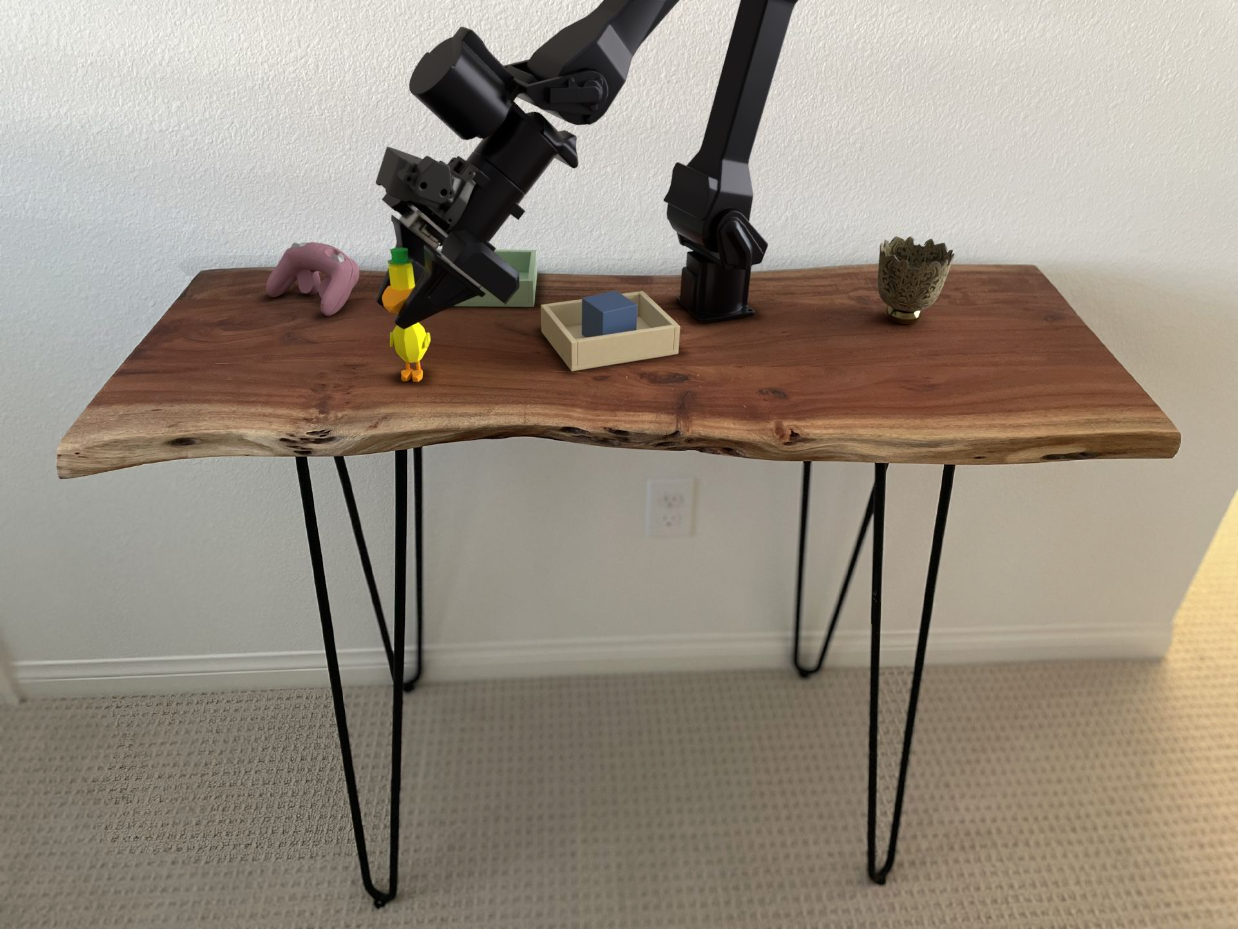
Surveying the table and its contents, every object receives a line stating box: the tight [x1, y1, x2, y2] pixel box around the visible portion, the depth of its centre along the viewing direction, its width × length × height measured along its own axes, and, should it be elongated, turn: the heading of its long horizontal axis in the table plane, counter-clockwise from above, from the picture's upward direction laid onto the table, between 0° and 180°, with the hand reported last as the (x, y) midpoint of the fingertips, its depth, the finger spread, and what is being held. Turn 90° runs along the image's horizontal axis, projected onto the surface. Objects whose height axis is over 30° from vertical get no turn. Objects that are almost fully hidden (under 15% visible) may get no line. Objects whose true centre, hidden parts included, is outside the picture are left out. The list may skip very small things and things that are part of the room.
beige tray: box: [540, 290, 681, 372], centre depth 93 cm, size 11×9×3 cm
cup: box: [877, 235, 955, 325], centre depth 98 cm, size 8×7×8 cm
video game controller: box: [265, 241, 360, 317], centre depth 99 cm, size 10×5×7 cm, turn 58°
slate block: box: [581, 290, 637, 338], centre depth 92 cm, size 4×4×4 cm
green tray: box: [437, 248, 538, 308], centre depth 103 cm, size 12×9×3 cm
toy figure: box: [382, 247, 431, 383], centre depth 83 cm, size 7×4×12 cm, turn 175°
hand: (389, 315), depth 82 cm, fingers closed on toy figure, 4 cm apart
